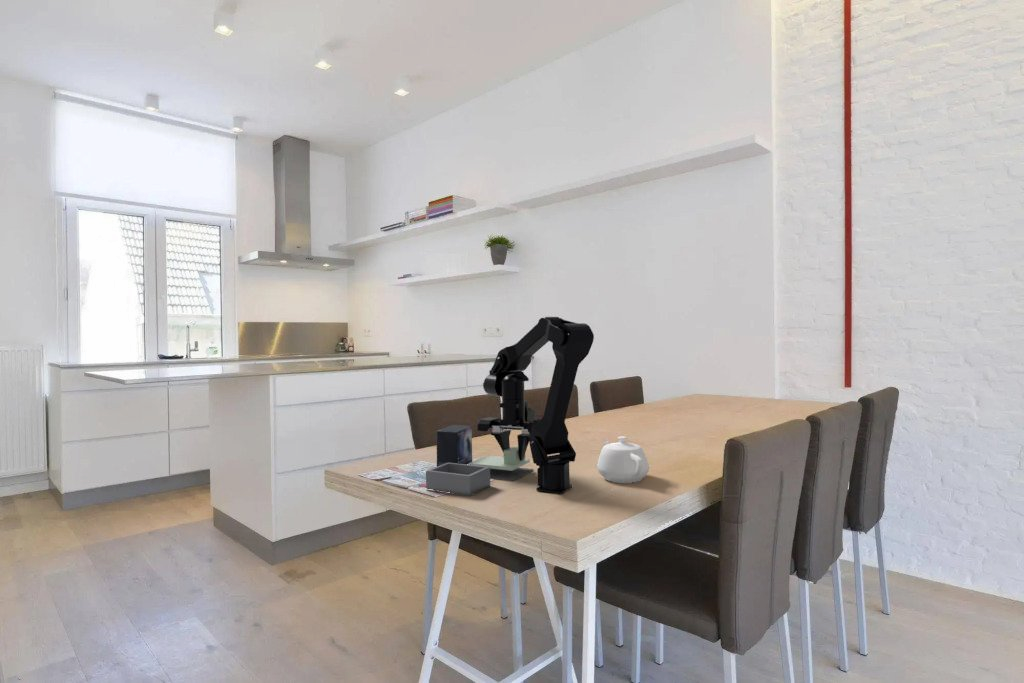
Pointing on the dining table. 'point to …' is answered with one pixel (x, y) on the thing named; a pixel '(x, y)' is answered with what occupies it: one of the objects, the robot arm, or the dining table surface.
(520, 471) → the mat
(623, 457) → the teapot
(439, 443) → the small box
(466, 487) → the tub
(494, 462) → the lid
